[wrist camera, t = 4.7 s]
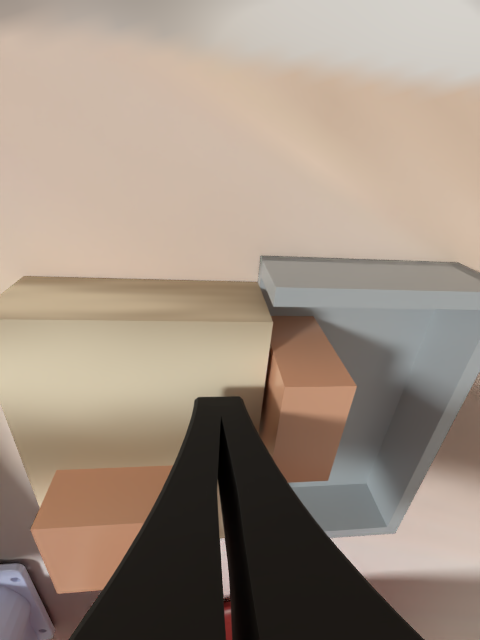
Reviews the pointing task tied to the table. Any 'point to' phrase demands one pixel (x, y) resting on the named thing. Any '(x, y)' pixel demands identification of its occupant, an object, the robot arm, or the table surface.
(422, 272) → the tray
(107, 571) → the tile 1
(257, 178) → the table surface
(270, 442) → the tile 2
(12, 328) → the board
